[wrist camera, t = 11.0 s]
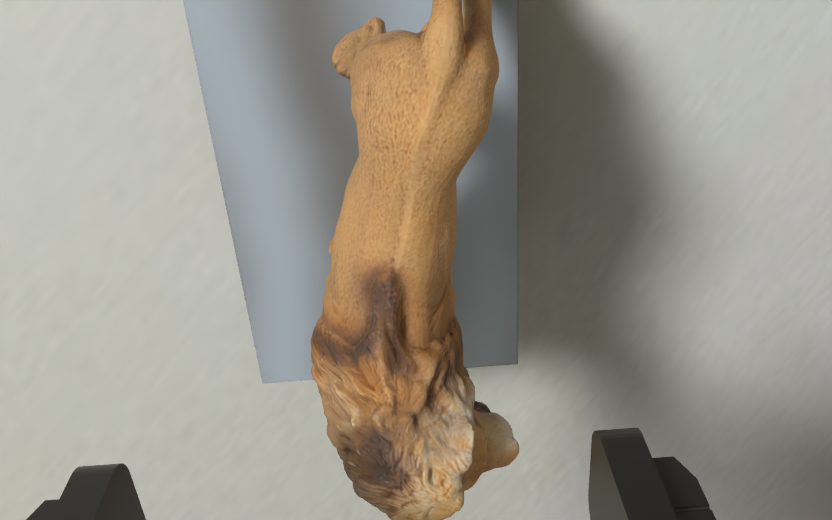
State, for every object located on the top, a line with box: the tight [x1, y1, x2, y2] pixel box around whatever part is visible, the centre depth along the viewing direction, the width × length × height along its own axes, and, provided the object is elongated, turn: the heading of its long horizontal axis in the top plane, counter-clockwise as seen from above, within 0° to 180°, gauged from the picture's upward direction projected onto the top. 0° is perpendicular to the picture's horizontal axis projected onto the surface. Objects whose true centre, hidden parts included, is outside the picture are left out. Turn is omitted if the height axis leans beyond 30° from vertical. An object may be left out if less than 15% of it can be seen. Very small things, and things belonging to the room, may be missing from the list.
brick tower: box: [183, 0, 518, 383], centre depth 28 cm, size 10×15×10 cm, turn 4°
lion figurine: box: [310, 0, 519, 520], centre depth 19 cm, size 15×5×9 cm, turn 2°
